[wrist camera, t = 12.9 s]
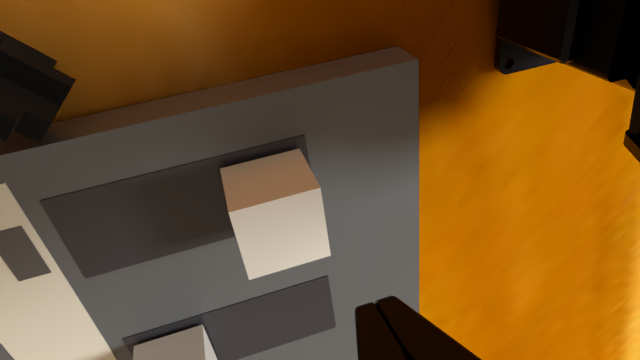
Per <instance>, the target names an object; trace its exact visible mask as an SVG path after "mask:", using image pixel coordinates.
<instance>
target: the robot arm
mask: <svg viewBox="0 0 640 360" xmlns="http://www.w3.org/2000/svg"><path fill="white" fill-rule="evenodd" d="M496 34H497V39H496V50H495V60H494V67H495V69H496V70H497V71H499V72H501V73H503V74H510V73H514V72H518V71H522V70H526V69H531V68H535V67H539V66H543V65H547V64H551V63H555V62H559V63H561V64H566V65H568V66H571V67H573V68H576V69H578V70H581V71H583V72H586V73H588V74H591V75H593V76H596V77H598V78H601V79H604V80H606V81H609V82H612V83H615V84H617V85H620V86H622V87H625V88H627V89H630V90H632V91H635V95H634V101H633V107H632V113H631V119H630V125H629V130H627V131H626V132H625V137H624V143H623V144H624V146H625V147H626V148H627V149H628V150H629V151H630V152H631V153H632V155H633V156H634V157H635V158H636V159H637V160H638V161H639V162H640V0H500V1H499V11H498V22H497V32H496ZM507 59H508V63H507V64H506V65H505V66H504V63H505V61H506V60H507ZM355 326H356V340H357V355H358V360H481V359H480V358H479V357H477V356H476V355H475V354H473V353H472V352H470V351H469V350H468V349H466V348H465V347H464V346H462V345H461V344H460V343H458V342H457V341H456V340H454V339H453V338H452V337H450V336H449V335H447V334H446V333H445V332H443V331H442V330H441V329H439V328H438V327H437V326H435V325H434V324H433V323H431V322H430V321H428V320H427V319H426V318H424V317H423V316H422V315H420V314H419V313H418V312H416V311H415V310H414V309H412V308H411V307H409V306H408V305H407V304H405V303H404V302H403V301H401V300H400V299H399V298H397V297H396V296H388V297H385V298H381V299H378V300H376V301H375V303H373V302H369V303H366V304H363V305H360V306H357V307H356V308H355Z"/></svg>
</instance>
